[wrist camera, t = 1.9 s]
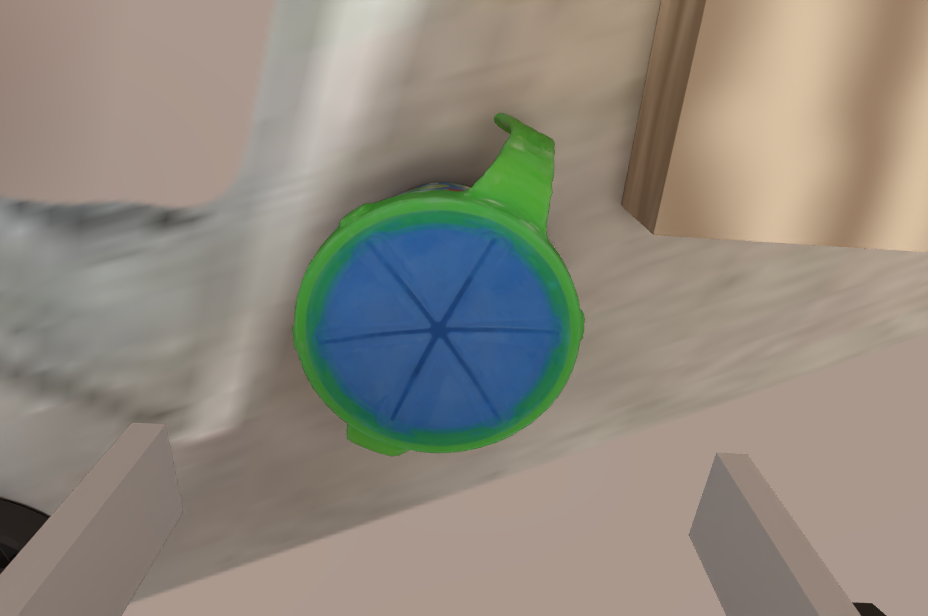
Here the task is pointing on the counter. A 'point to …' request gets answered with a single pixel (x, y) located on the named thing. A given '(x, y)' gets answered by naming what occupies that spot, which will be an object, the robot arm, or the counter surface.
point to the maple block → (786, 123)
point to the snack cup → (444, 309)
